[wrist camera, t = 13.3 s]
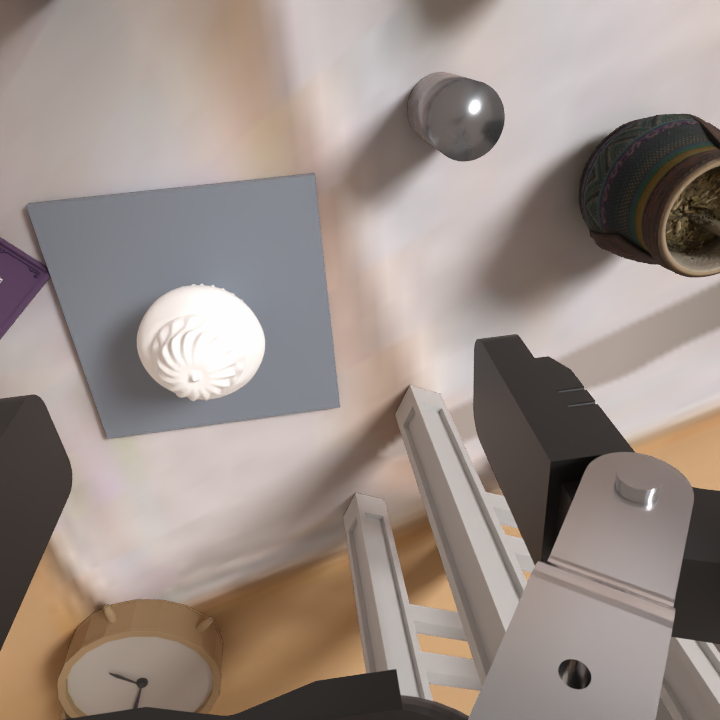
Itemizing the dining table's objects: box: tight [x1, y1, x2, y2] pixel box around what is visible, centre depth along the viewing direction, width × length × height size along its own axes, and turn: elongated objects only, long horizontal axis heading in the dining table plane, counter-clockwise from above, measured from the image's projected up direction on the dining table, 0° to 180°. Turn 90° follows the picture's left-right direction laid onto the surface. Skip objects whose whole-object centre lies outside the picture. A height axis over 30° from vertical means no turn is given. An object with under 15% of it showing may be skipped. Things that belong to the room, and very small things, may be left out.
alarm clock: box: [57, 599, 223, 720], centre depth 46 cm, size 11×5×15 cm
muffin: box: [137, 284, 265, 401], centre depth 30 cm, size 6×6×7 cm
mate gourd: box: [579, 114, 720, 277], centre depth 29 cm, size 7×8×10 cm
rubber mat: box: [26, 173, 340, 439], centre depth 33 cm, size 14×14×1 cm
